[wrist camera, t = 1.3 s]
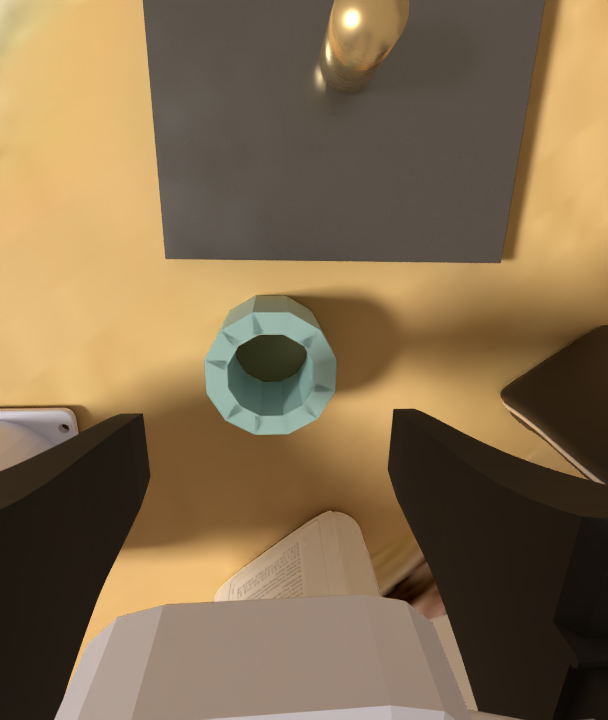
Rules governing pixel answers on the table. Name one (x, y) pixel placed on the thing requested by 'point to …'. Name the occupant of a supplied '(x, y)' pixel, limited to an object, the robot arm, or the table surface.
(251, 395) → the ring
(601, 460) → the battery charger
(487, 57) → the hub plate
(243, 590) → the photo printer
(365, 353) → the table surface
